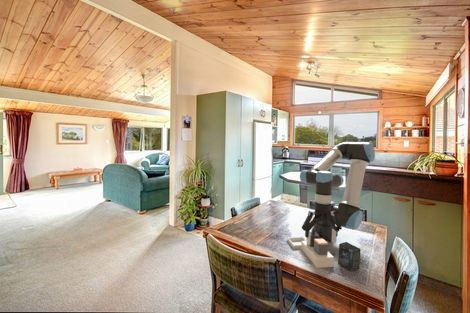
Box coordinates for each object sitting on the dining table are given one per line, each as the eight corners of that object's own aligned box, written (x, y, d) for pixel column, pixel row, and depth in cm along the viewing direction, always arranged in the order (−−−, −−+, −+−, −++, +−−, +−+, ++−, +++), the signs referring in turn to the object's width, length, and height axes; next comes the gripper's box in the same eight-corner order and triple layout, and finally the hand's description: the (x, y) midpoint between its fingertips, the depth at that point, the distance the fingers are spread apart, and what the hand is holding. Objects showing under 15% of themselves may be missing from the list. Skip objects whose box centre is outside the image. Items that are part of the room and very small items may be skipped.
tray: (303, 240, 135) (303, 236, 135) (310, 249, 125) (310, 244, 125) (287, 241, 134) (287, 237, 134) (293, 249, 124) (293, 245, 123)
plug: (322, 257, 114) (323, 238, 113) (327, 262, 109) (328, 243, 109) (313, 257, 114) (314, 238, 113) (318, 262, 109) (318, 243, 108)
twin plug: (314, 249, 123) (315, 226, 122) (318, 253, 118) (320, 230, 117) (306, 249, 122) (307, 227, 121) (310, 254, 117) (311, 230, 116)
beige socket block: (327, 248, 126) (328, 239, 126) (346, 266, 108) (347, 256, 108) (301, 249, 124) (301, 240, 124) (316, 267, 106) (316, 257, 106)
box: (337, 263, 110) (338, 243, 110) (345, 261, 113) (346, 241, 112) (351, 272, 103) (352, 250, 102) (359, 269, 106) (361, 248, 105)
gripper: (341, 199, 114) (339, 238, 116) (296, 200, 112) (294, 240, 113) (350, 203, 107) (348, 245, 109) (302, 204, 104) (300, 247, 106)
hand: (321, 243), depth 111 cm, fingers open, 13 cm apart
